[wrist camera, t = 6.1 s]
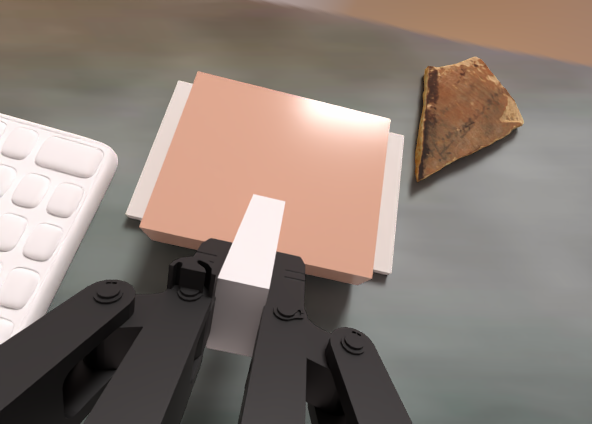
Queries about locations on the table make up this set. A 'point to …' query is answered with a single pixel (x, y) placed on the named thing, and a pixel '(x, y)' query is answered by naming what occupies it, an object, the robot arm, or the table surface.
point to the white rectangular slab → (387, 199)
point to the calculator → (43, 212)
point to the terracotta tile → (274, 175)
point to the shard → (461, 114)
